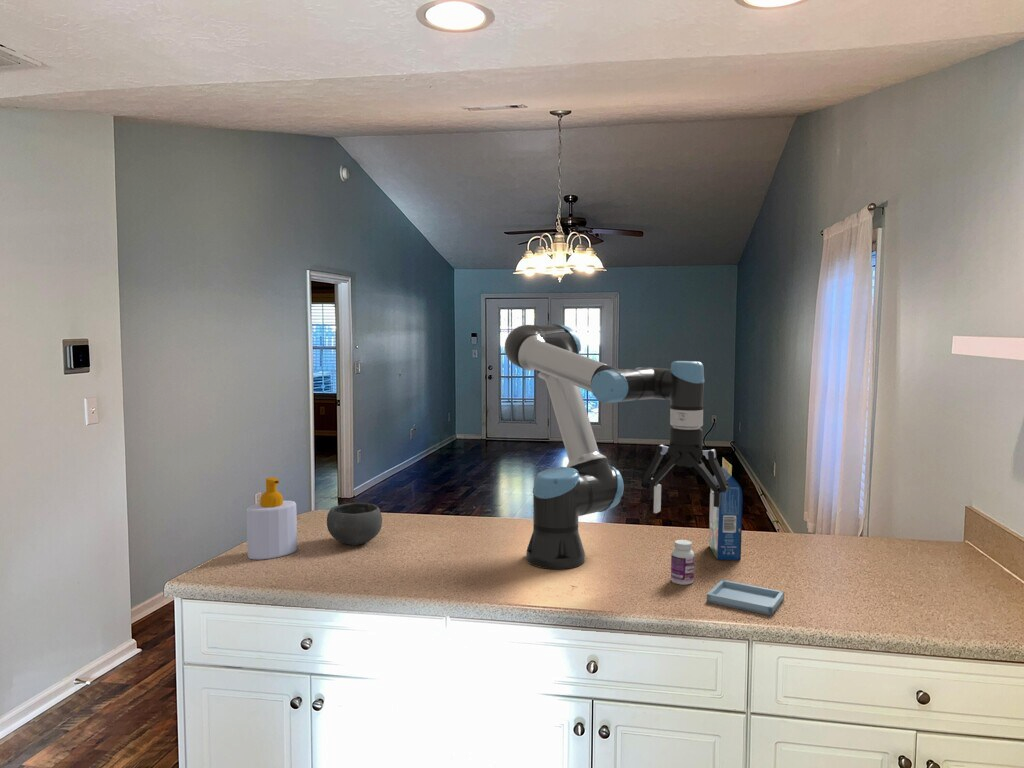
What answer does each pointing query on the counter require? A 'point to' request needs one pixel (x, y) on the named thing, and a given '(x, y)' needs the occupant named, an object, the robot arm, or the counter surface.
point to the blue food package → (727, 520)
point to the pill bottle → (682, 563)
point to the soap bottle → (271, 525)
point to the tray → (746, 597)
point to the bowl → (354, 522)
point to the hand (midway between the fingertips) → (684, 516)
